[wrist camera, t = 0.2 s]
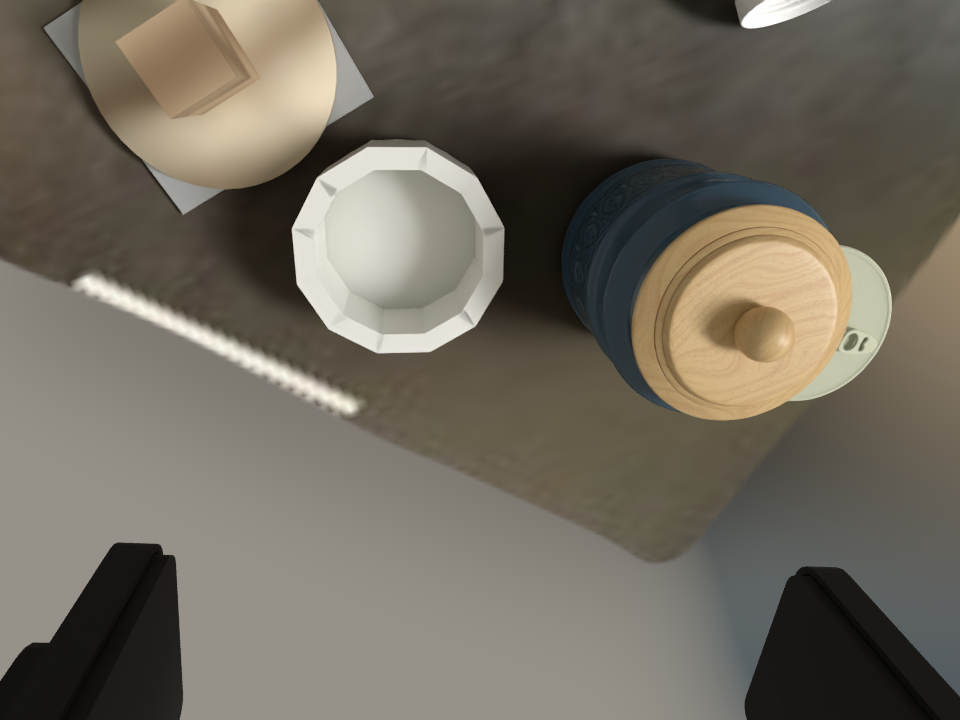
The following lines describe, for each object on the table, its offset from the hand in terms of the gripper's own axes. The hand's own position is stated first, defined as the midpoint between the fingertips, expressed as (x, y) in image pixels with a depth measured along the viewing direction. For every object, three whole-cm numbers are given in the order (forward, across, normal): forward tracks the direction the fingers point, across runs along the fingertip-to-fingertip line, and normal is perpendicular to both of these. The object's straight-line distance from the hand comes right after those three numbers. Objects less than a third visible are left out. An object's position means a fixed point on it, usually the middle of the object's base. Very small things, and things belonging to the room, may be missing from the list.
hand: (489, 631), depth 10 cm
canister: (+37, -16, +1) cm, 40 cm away
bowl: (+37, +2, +2) cm, 37 cm away
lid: (+36, +13, -8) cm, 39 cm away
